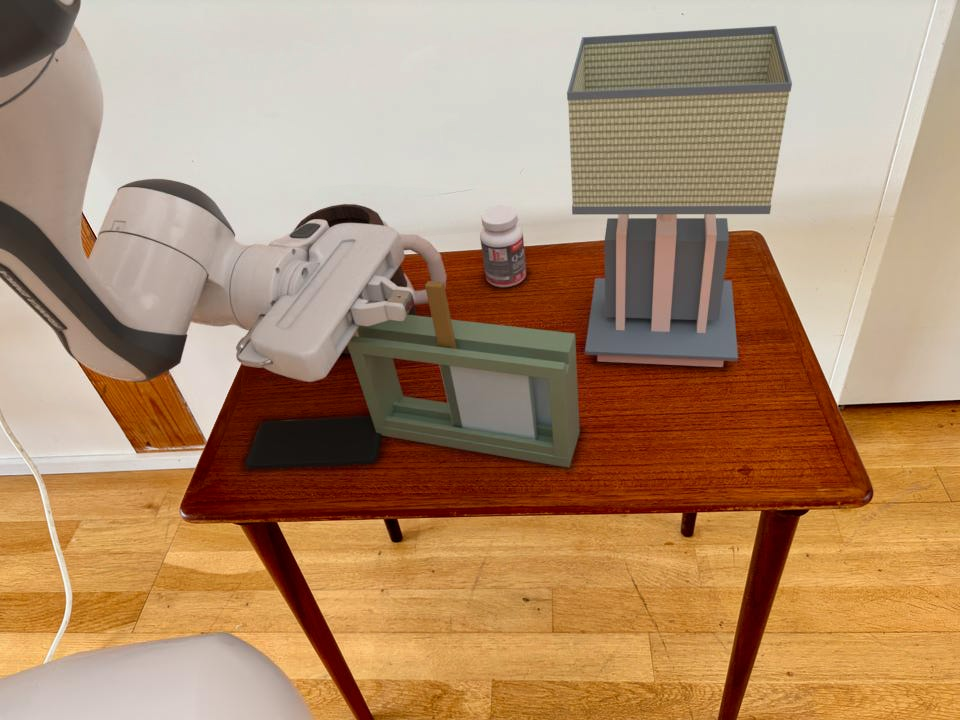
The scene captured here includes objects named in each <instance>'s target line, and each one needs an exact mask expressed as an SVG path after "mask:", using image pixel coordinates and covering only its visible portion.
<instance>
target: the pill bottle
mask: <svg viewBox="0 0 960 720" xmlns="http://www.w3.org/2000/svg"><path fill="white" fill-rule="evenodd" d="M480 217H481V225H482V227H483V228H482V229H481V230H480V234H479V238H480V239H479V240H480V246H481V252H482V253H481V254H482V261H483V268H484V274H485V279H486V281H487V282H488V284H490V285H491V286H493V287H498V288H510V287H514V286H517V285H519V284H520V283H521V282H522V281H524V280H525V278H526V276H527V262H526V254H525V253H526V252H525V244H524V243H525V242H524V232H523V229H522V227H521V226H520V224H518V222H519V217H518V212H517V210H516V208H514V207H513V206H511V205H506V204H499V205H493V206H490V207H489V208H487V209H485V210H484V211H483V212H482V213H481V216H480Z"/></svg>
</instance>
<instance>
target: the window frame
mask: <svg viewBox="0 0 960 720" xmlns="http://www.w3.org/2000/svg"><path fill="white" fill-rule="evenodd" d="M451 322H452V327H453V332H454V337H455V342H456V347H457V349H452V348H444V347H438V343H437V338H436V334H435V329H434V325H433V320H432V316H431V317H430V316H424V315H423V316H421V315H407V316H406V318H405V320H404V321H395V320H388V321H385V322H381V323H378V324H375V325H371V326H359V328H358V329H357V332H358V335H359V337H357V336H353V337H352V338H351V340H350V341H349V343H348V344H347V346H348V349H349V352H350V354H349V355H350V358H351V361H352V364H353V367H354V370H355V372H356V375H357V379H358V381H359V384H360V388H361V391H362V394H363V397H364V400H365V402H366V405H367V409H368V411H369V416H371V418H372V421H373V424H374V427H375V430H376V433H380V434H382V437H388V438H394V439H399V440H405V441H412V442H418V443H424V444H429V445H434V446H440V447H446V448H452V449H457V450H464V451H469V452H475V453H481V454H487V455H493V456H499V457H504V458H511V459H515V460H522V461H526V462H533V463H540V464H546V465H551V466H555V467H556V466H557V467H562V468H568V469H569V468H570V467H571V463H572V460H573V457H574V454H575V450H576V447H577V443H578V439H579V436H580V429H581V428H580V408H579V393H578V392H579V390H578V389H579V387H578V366H577V346H576V333H574V332H566V331H565V332H564V331H557V330H547V329H538V328H530V327H520V326H519V327H518V326H512V325H503V324H494V323H485V322H478V321H477V322H476V321H468V320H457V319H451ZM394 359H395V360H396V359H397V360H403V361H412V362H419V363H427V364H434V365H439V364H441V365H448V366H456V367H463V368H471V369H478V370H486V371H493V372H500V373H508V374H515V375H523V376H530V377H531V378H532V387H533V397H534V406H535V415H536V425H537V434H538V437H537V440H532V439H526V438H520V437H513V436H507V435H501V434H495V433H489V432H483V431H476V430H470V429H464V428H458V427H453V423H452V419H451V414H450V410H449V405H448V402H445V401H438V400H431V399H424V398H417V397H410V396H405V395H404V394H403V391H402V386H401V384H400V380H399V377H398V372H397V369H396V365H395V362H394Z"/></svg>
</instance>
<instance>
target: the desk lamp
mask: <svg viewBox="0 0 960 720" xmlns="http://www.w3.org/2000/svg"><path fill="white" fill-rule="evenodd" d="M571 73H572V74H571V77H570V80H569V84H568V87H567V91H566V100H567V104H568V127H569V128H568V129H569V150H570V173H571V174H570V175H571V176H570V177H571V197H572V198H571V199H572V200H571V201H572V205H571V212H572V213H571V214H572V215H575V216H576V215H578V216H579V215H582V216H583V215H585V216H586V215H617V217H616V218H615V217H613V218H612V217H610V218H609V217H608V218H607V219H606V227H605V235H604V277H603V278H601V277H600V278H598V277H595V278H594V285H593V292H592V299H591V306H590V313H589V321H588V327H587V335H586V340H585V348H584V355H586V356H597V357H596V361H597V362H603V363H604V362H605V363H627V364H646V365H647V364H648V365H666V366H667V365H670V366H689V367H690V366H691V367H692V366H693V367H711V368H713V367H714V368H715V367H716V368H723V367H724V362H727V361H728V362H738V360H739V354H738V340H737V330H736V318H735V317H736V316H735V306H734V305H735V303H734V295H733V283H732V282H733V281H732V280H725V275H726V268H727V261H728V260H727V258H728V252H729V244H730V235H729V226H728V225H729V224H728V218H727V217H724V218H723V217H716V215H770V214H771V210H772V198H773V193H774V186H775V180H776V175H777V168H778V163H779V157H780V152H781V145H782V139H783V134H784V128H785V123H786V114H787V109H788V104H789V98H790V92H792V86H793V81H792V78H791V74H790V70H789V67H788V63H787V60H786V56H785V52H784V48H783V45H782V41H781V38H780V34H779V31H778V27H777V25H766V26H765V25H764V26H747V27H732V28H716V29H715V28H714V29H698V30H684V31H683V30H681V31H665V32H664V31H663V32H648V33H633V34H631V33H629V34H614V35H613V34H611V35H598V36H582V37H581V40H580V45H579V48H578V51H577V55H576V58H575V62H574V66H573V70H572V72H571ZM630 215H656V217H647V218H645V217H643V218H642V217H637V218H635V217H634V218H633V217H632V218H631V217H630ZM677 215H703V218H702V217H700V218H699V217H685V218H684V217H677Z"/></svg>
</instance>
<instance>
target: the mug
mask: <svg viewBox="0 0 960 720" xmlns="http://www.w3.org/2000/svg"><path fill="white" fill-rule="evenodd" d="M314 219H321V220H326V221H327V223H328V225H329V228H330V227H332V226H335V225H337V224H342V223H362V224H374V225H383V226H388V227H389V225H388V223H387V222H386V221H385V220H382V218H381V216H380V214H379V213H378V212H377V211H375V210H373V209H371V208H369V207H367V206H364V205H360V204H355V203H354V204H353V203H342V204H336V205H329V206H327V207H324V208H320V209H318V210H316V211H313V212H312V213H310V214H308V215H307V216H305V217H304V218H303V219H302V220H300V222H299V223H298V224H297V225H296V227H294V229H293V230H292V232H293V231H295V230H296V229H298V228H300V227H301V226H303V225H304V224H306V223H307V222H309V221H311V220H314ZM399 234H400V237H401V241H402V245H403V249H404V251H411V252H414V253H415V254H418V255H419V256H420V257H421V258H422V259H423V260H424V261H425V262H426V266H427V270H428V273H429V274H428V275H429V277H430V281H434V282H443V283H444V286H445V288H446V287H447V278H448V277H447V273H446V269H445V266H444V262H443V259H442V258H443V257H442V255H441V253H440V252H439V251H438V250H437V249H436V247H435V246H434V245H433V244H432V243H431V242H430V241H429V240H427V239H425V238H423V237H421V235H418V234H401V233H399ZM390 281H391V282H393V283H394V284H395V285H397V286H398V287H407V288H411V289H413V290H414V292H415V297H416V302H415V303H414V305H413V307H412V308H411V310H410V311H409V313H408V315H415V316H417V310H416V309H417V306H418V305H419V306H420V305H426V304H429V302H428V297H427V293H426V289H421V290H415V288H414V286H413V285H412V283H411V280H410V279H409V277H408V276H407V275H406V274H405V273H404V271H403V268H402V265H400V266H399V267H398V269H397V270H396V272H395V273H394V275H393V276H392V278H391V279H390ZM387 300H388V299H386V298H385V300H384V301H387ZM375 303H376V302H375ZM353 336H357V337H359V335H358V332H357V331H356V332H355V334H354V335H353ZM341 354H344V355H345V354H347V355H350V352H349V349H348V346H346V347H345V349H344V350H343V352H342V353H341Z"/></svg>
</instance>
